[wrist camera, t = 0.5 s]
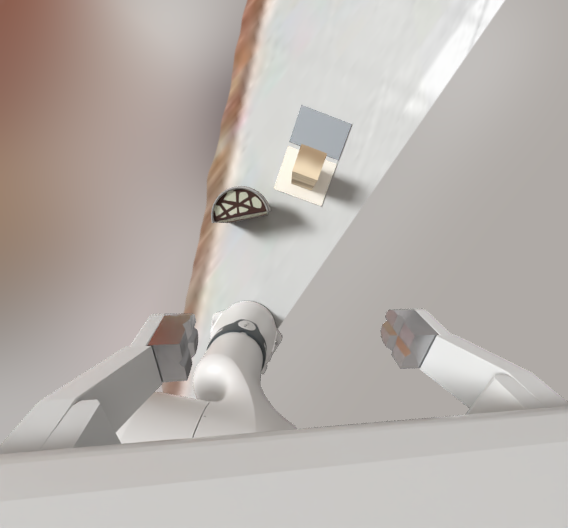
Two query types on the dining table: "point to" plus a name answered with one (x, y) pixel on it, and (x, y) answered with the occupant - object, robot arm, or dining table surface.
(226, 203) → the food container
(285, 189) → the board
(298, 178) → the birch block
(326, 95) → the dining table surface
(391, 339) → the robot arm
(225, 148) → the dining table surface
